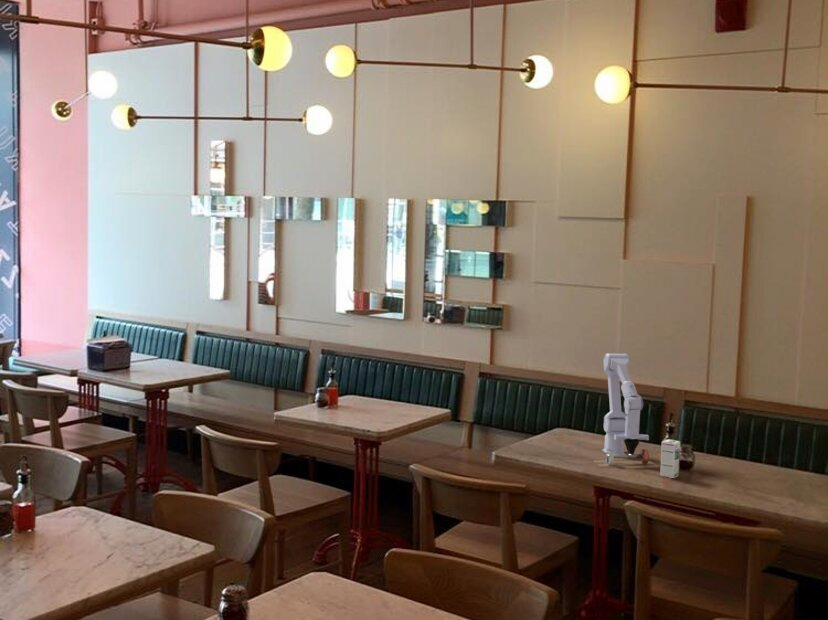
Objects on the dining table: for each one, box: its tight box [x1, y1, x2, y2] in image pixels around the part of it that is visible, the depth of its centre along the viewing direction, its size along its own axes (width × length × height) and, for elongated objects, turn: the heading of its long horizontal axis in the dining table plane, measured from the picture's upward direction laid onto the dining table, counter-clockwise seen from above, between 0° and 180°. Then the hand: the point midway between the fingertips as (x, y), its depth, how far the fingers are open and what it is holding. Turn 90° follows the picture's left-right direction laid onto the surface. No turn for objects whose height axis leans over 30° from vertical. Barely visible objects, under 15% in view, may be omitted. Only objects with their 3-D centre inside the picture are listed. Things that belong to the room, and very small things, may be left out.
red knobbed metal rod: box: [605, 448, 650, 464], centre depth 396 cm, size 18×6×6 cm, turn 98°
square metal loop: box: [604, 449, 616, 466], centre depth 395 cm, size 6×3×6 cm, turn 8°
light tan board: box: [591, 459, 660, 469], centre depth 396 cm, size 12×25×1 cm, turn 98°
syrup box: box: [659, 439, 681, 479], centre depth 381 cm, size 6×6×14 cm
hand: (630, 456), depth 399 cm, fingers closed
